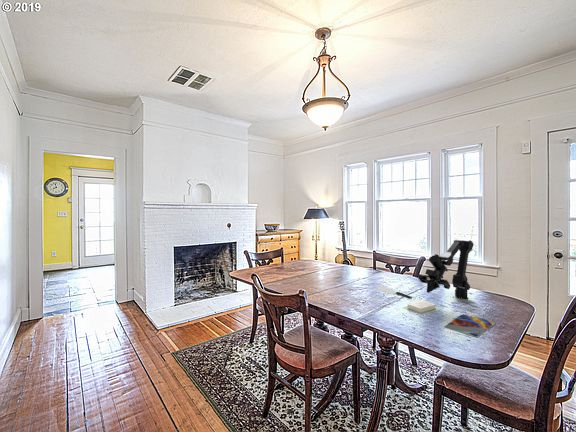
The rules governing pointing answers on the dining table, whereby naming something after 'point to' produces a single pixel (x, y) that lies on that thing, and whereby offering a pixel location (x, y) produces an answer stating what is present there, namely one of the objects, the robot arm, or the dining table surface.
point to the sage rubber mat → (425, 311)
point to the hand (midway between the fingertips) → (427, 292)
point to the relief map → (470, 325)
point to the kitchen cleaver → (387, 290)
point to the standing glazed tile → (421, 306)
